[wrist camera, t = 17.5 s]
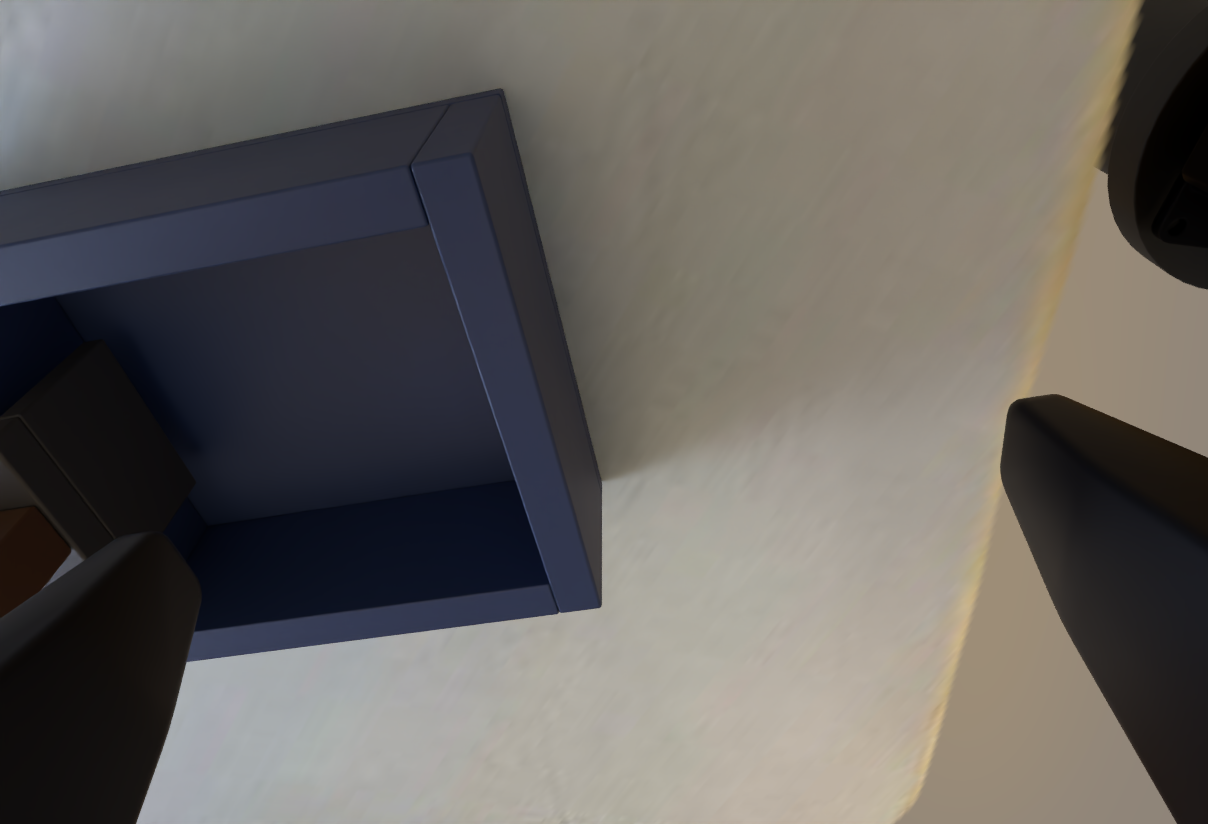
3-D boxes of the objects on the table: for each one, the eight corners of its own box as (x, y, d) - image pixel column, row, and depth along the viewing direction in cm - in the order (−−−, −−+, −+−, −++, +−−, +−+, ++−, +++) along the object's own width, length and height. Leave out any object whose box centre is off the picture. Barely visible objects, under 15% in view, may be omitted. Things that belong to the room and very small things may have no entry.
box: (502, 87, 18) (472, 152, 14) (602, 484, 25) (602, 608, 21) (-37, 198, 19) (-216, 287, 15) (199, 543, 26) (122, 671, 22)
